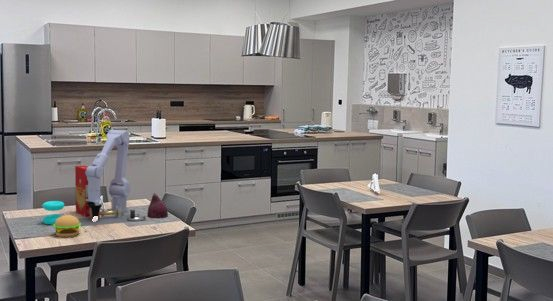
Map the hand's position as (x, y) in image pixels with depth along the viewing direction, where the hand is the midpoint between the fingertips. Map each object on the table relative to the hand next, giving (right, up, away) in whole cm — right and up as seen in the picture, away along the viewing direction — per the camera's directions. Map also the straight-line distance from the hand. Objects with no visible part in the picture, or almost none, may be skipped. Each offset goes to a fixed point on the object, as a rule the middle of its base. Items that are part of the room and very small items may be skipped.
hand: (94, 217), depth 292 cm
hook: (+5, -1, +3) cm, 6 cm away
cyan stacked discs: (-18, -2, -5) cm, 19 cm away
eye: (+10, -1, +6) cm, 12 cm away
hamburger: (-4, -5, -27) cm, 28 cm away
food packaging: (-8, -1, +12) cm, 14 cm away
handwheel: (+20, -1, +2) cm, 20 cm away
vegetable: (+29, -2, +11) cm, 31 cm away
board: (+8, -2, 0) cm, 8 cm away
